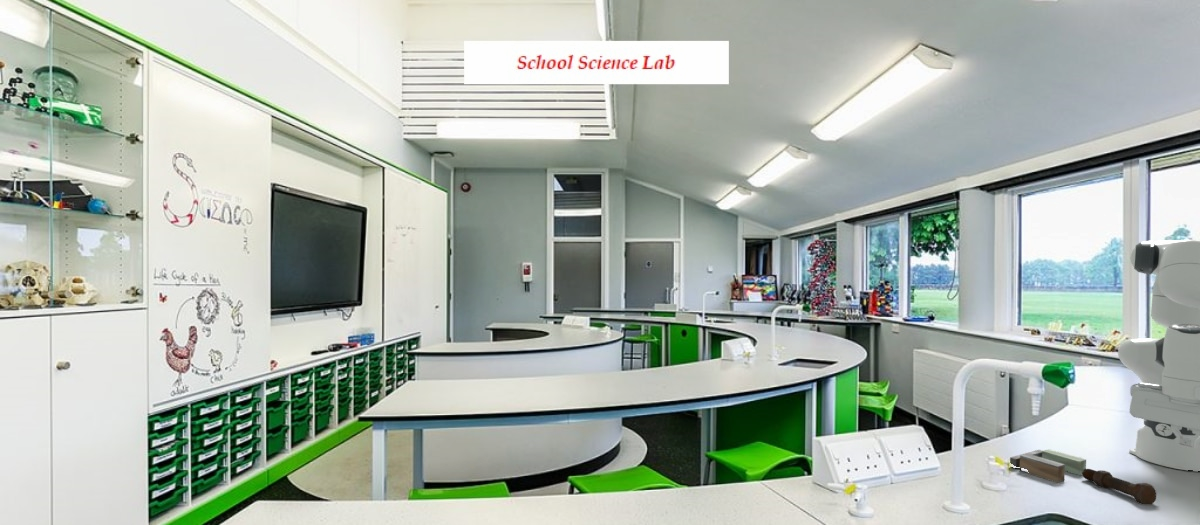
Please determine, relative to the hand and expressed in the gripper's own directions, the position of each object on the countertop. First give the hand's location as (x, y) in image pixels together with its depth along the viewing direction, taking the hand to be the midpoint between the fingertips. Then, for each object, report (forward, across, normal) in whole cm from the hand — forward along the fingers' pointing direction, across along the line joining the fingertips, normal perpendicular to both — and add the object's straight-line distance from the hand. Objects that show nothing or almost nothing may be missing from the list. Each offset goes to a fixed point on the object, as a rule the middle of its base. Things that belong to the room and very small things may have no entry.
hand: (1186, 445), depth 127 cm
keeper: (+17, -28, 0) cm, 32 cm away
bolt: (+17, -13, 0) cm, 22 cm away
